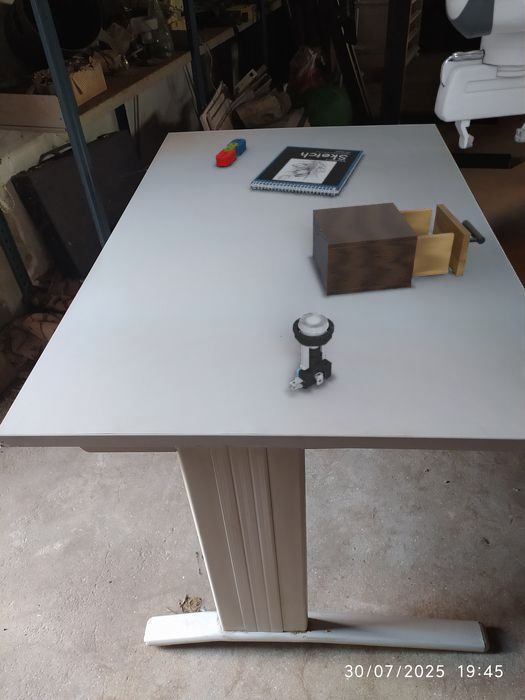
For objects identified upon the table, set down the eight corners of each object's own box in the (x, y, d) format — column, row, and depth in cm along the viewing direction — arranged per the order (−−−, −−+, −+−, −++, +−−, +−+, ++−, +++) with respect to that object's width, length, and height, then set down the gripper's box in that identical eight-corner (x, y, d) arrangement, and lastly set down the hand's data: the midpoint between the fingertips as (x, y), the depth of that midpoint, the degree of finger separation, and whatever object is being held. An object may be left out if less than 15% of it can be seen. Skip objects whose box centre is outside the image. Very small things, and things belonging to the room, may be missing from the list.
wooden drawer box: (388, 250, 103) (393, 202, 97) (410, 287, 92) (418, 235, 86) (312, 257, 102) (312, 209, 96) (326, 295, 91) (328, 244, 86)
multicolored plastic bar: (227, 168, 143) (226, 156, 141) (214, 167, 144) (213, 156, 142) (248, 148, 155) (247, 137, 154) (235, 147, 156) (234, 136, 155)
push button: (304, 402, 71) (303, 342, 65) (278, 382, 75) (275, 323, 68) (340, 380, 74) (343, 320, 68) (314, 362, 78) (314, 303, 72)
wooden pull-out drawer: (458, 240, 103) (465, 201, 98) (486, 273, 93) (496, 231, 88) (367, 249, 102) (370, 210, 97) (385, 283, 92) (390, 241, 87)
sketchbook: (362, 155, 146) (363, 147, 145) (337, 198, 124) (337, 189, 123) (287, 150, 152) (286, 142, 151) (249, 190, 130) (249, 181, 129)
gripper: (452, 57, 75) (438, 157, 84) (590, 44, 77) (563, 143, 85) (434, 50, 80) (423, 145, 89) (565, 38, 82) (541, 132, 90)
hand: (493, 144), depth 87 cm, fingers open, 8 cm apart
